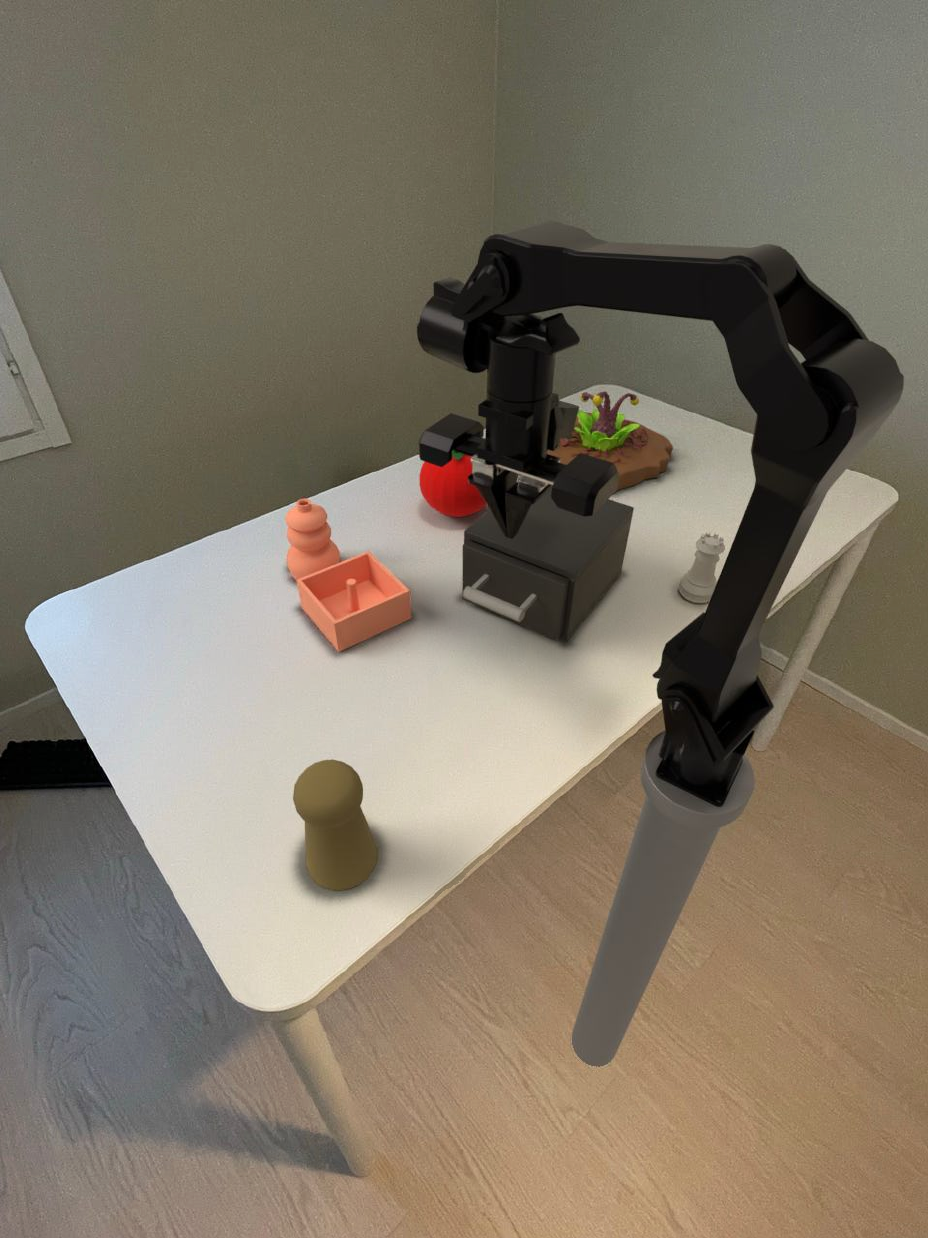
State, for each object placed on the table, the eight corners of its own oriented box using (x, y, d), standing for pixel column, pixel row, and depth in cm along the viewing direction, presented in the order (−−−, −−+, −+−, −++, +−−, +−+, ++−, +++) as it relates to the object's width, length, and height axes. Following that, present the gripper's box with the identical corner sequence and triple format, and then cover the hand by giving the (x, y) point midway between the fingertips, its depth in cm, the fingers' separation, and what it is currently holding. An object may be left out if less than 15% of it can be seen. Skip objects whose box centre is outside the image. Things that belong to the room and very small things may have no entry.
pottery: (411, 618, 81) (407, 550, 75) (338, 652, 77) (327, 582, 71) (337, 543, 92) (327, 477, 86) (270, 569, 88) (254, 502, 82)
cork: (291, 874, 58) (267, 799, 51) (328, 815, 62) (311, 737, 55) (356, 901, 56) (341, 827, 49) (390, 838, 61) (380, 761, 53)
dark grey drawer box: (566, 642, 79) (576, 574, 72) (463, 598, 84) (463, 530, 78) (621, 573, 88) (634, 507, 81) (524, 537, 93) (529, 472, 87)
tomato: (504, 525, 95) (507, 459, 89) (429, 536, 94) (426, 469, 87) (484, 485, 103) (485, 421, 96) (413, 494, 101) (410, 430, 94)
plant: (507, 454, 109) (510, 385, 102) (588, 416, 119) (596, 350, 112) (608, 507, 99) (621, 434, 91) (688, 460, 109) (705, 390, 101)
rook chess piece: (691, 576, 87) (706, 522, 82) (722, 593, 85) (740, 539, 80) (670, 592, 85) (684, 538, 80) (701, 610, 83) (718, 555, 77)
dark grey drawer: (539, 663, 75) (545, 608, 70) (441, 619, 80) (440, 564, 75) (609, 576, 86) (619, 522, 81) (520, 542, 91) (523, 489, 86)
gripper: (656, 381, 62) (628, 527, 73) (478, 336, 70) (476, 475, 80) (602, 430, 55) (580, 584, 66) (411, 375, 63) (418, 521, 73)
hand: (510, 535), depth 72 cm, fingers closed
